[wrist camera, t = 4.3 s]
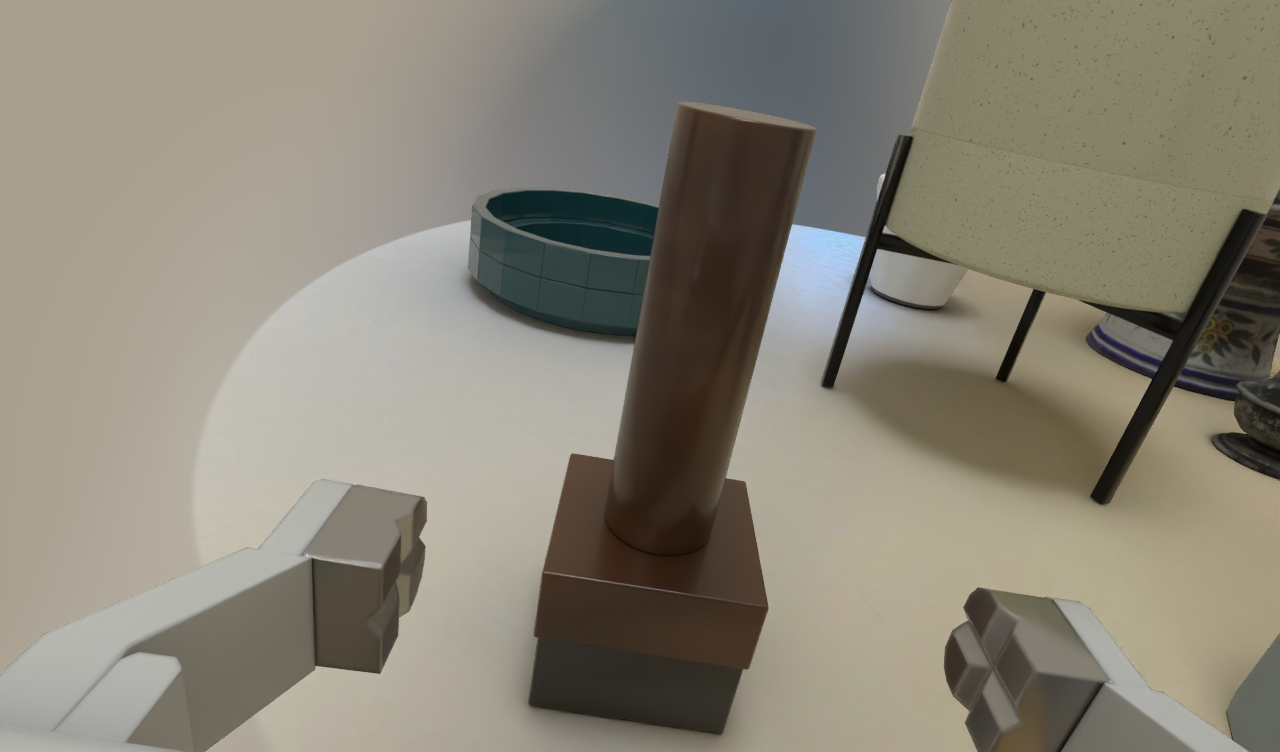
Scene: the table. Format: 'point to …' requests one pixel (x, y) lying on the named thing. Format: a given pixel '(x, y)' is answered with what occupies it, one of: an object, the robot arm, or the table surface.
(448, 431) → the table surface
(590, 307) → the dish
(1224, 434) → the salt shaker
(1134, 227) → the planter
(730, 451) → the post on square base
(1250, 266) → the vase
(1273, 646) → the spray bottle
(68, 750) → the robot arm
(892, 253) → the cup
